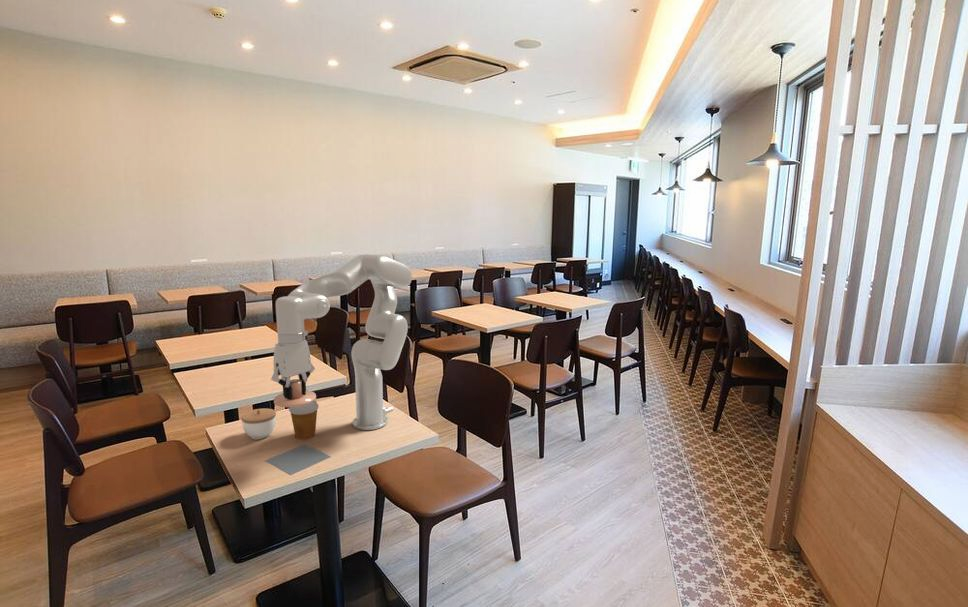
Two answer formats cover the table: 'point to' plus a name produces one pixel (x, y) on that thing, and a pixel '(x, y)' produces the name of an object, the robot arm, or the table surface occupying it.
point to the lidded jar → (259, 423)
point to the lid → (295, 396)
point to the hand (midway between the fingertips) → (295, 395)
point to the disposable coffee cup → (304, 420)
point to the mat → (297, 459)
